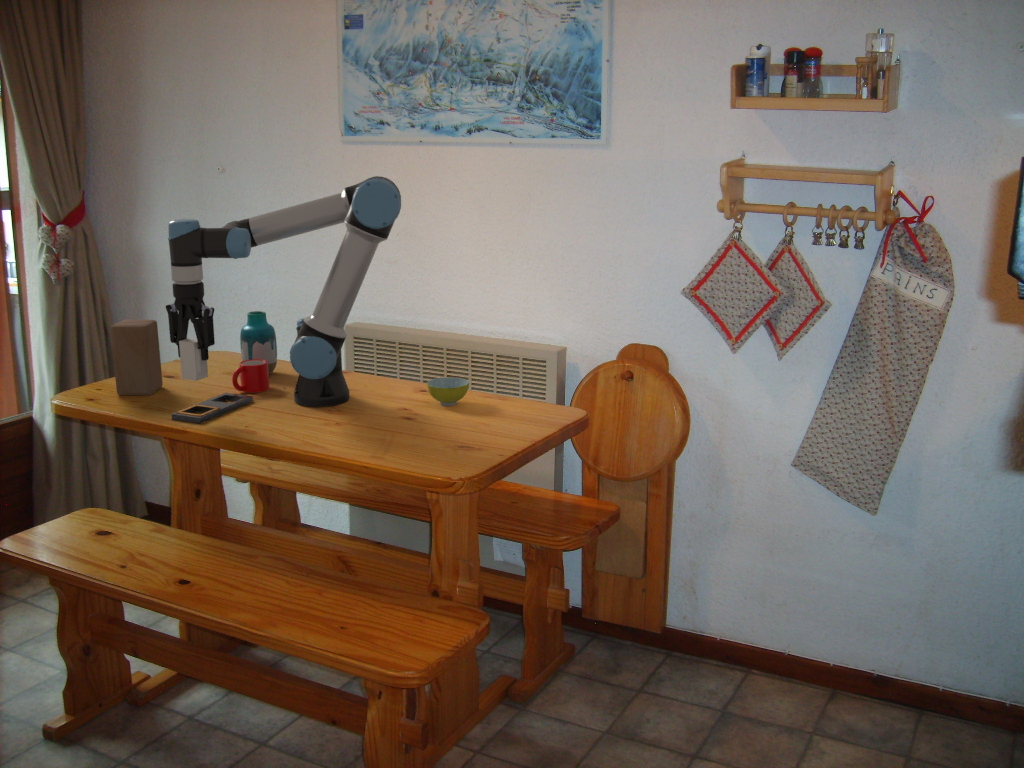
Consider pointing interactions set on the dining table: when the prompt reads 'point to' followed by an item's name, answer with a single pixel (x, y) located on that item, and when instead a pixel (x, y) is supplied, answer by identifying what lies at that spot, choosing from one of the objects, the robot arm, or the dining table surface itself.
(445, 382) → the bowl
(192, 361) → the peg
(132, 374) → the block
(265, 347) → the vase
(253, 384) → the mug
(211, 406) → the grey slotted plate
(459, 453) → the dining table surface
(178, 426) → the dining table surface
